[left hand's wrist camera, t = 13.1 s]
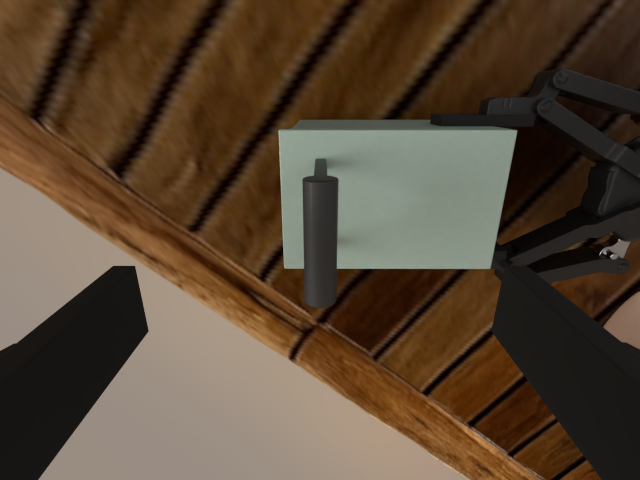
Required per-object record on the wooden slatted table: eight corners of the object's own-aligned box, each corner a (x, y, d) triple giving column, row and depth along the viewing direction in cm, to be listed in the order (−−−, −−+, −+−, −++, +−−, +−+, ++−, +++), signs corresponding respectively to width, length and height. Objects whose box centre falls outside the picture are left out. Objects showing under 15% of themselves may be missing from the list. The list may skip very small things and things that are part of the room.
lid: (285, 262, 27) (269, 334, 19) (280, 128, 23) (257, 145, 15) (484, 263, 27) (556, 335, 18) (509, 128, 23) (612, 145, 15)
